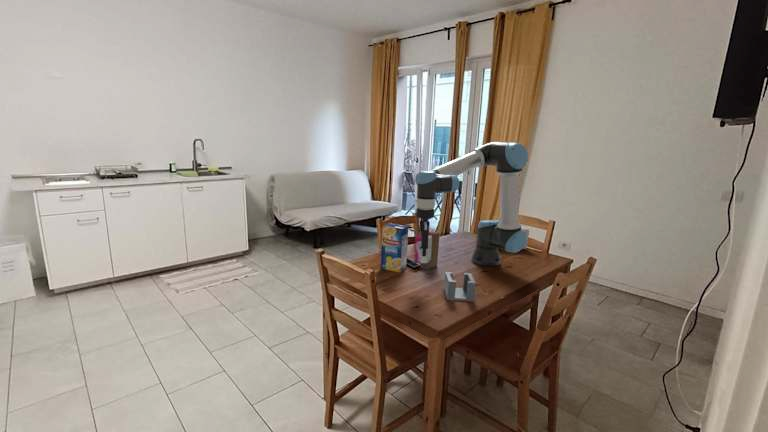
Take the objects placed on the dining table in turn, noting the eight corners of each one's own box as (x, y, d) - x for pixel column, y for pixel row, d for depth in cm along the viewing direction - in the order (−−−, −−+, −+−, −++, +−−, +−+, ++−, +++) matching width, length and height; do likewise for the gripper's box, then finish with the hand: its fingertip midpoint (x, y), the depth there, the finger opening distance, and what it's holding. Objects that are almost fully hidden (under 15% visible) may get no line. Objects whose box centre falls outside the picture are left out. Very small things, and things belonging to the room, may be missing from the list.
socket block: (469, 290, 161) (470, 273, 160) (474, 301, 151) (476, 283, 149) (443, 289, 162) (445, 271, 160) (447, 299, 151) (448, 281, 149)
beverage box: (400, 272, 179) (402, 228, 174) (380, 268, 184) (382, 225, 179) (406, 268, 185) (408, 226, 180) (386, 264, 190) (388, 222, 185)
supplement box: (431, 260, 162) (432, 235, 159) (426, 264, 157) (428, 238, 154) (418, 257, 164) (419, 233, 161) (414, 262, 159) (415, 236, 156)
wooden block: (426, 270, 184) (429, 235, 180) (419, 267, 187) (421, 233, 183) (437, 266, 190) (440, 232, 187) (430, 263, 193) (432, 230, 190)
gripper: (415, 203, 165) (413, 252, 170) (417, 212, 145) (415, 267, 150) (432, 203, 165) (429, 252, 170) (436, 213, 145) (433, 268, 150)
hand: (422, 259), depth 160 cm, fingers closed on supplement box, 7 cm apart
